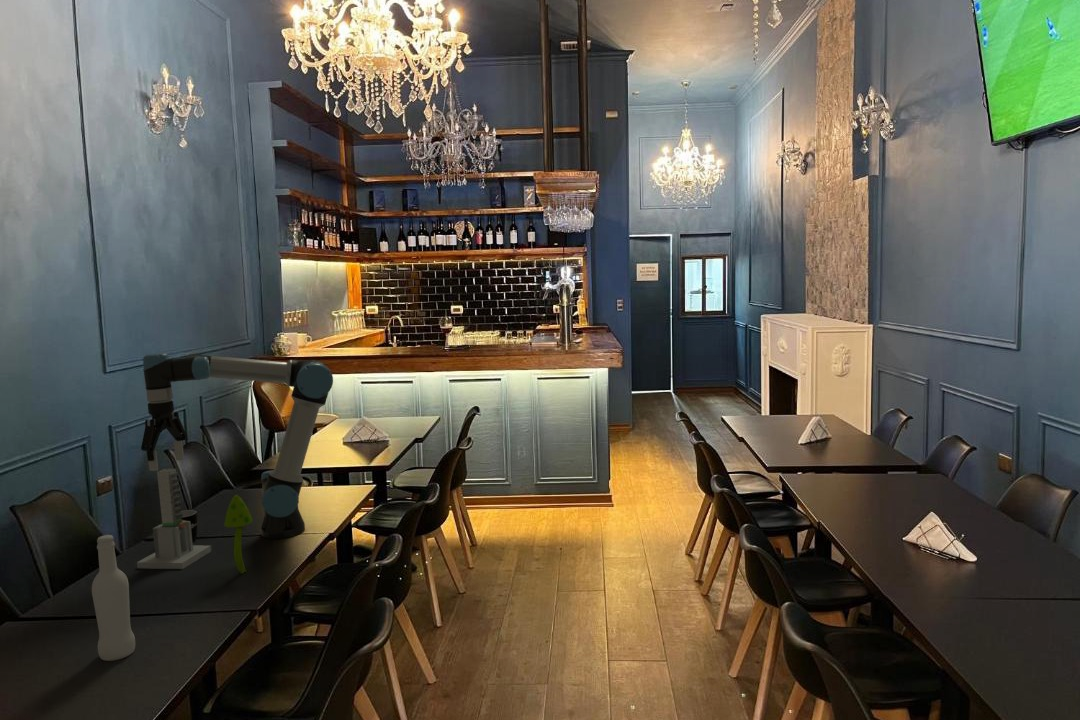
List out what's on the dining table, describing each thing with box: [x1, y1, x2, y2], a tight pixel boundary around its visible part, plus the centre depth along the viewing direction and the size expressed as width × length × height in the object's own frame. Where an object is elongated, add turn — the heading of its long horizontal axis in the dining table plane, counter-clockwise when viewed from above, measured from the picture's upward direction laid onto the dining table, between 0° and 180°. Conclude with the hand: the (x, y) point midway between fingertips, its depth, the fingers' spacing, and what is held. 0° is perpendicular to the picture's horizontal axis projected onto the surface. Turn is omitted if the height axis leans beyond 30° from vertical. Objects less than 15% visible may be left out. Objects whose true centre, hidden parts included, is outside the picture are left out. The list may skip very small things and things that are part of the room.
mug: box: [180, 509, 198, 543], centre depth 276 cm, size 12×9×10 cm
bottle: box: [91, 534, 136, 662], centre depth 189 cm, size 8×8×30 cm
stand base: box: [136, 521, 212, 570], centre depth 256 cm, size 16×16×13 cm
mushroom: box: [223, 494, 254, 574], centre depth 241 cm, size 8×8×25 cm
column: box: [156, 468, 183, 534], centre depth 255 cm, size 5×4×22 cm
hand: (167, 465), depth 253 cm, fingers open, 13 cm apart
